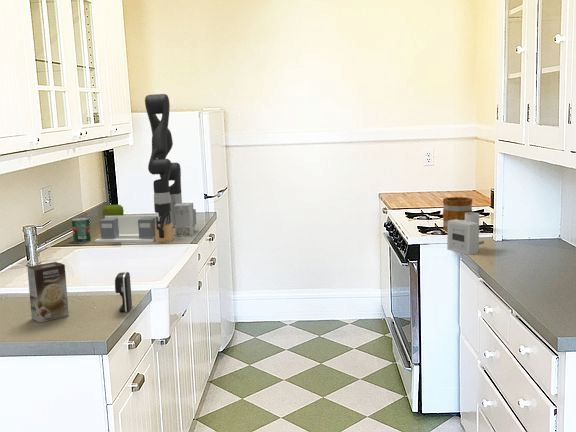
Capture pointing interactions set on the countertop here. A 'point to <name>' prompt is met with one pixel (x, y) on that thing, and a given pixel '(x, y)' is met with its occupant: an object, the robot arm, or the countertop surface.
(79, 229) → the canned tomato
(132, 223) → the panel
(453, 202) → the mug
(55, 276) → the coffee box
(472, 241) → the thermostat
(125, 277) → the battery charger
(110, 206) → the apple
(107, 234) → the block
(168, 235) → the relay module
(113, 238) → the rail
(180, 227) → the circuit breaker
